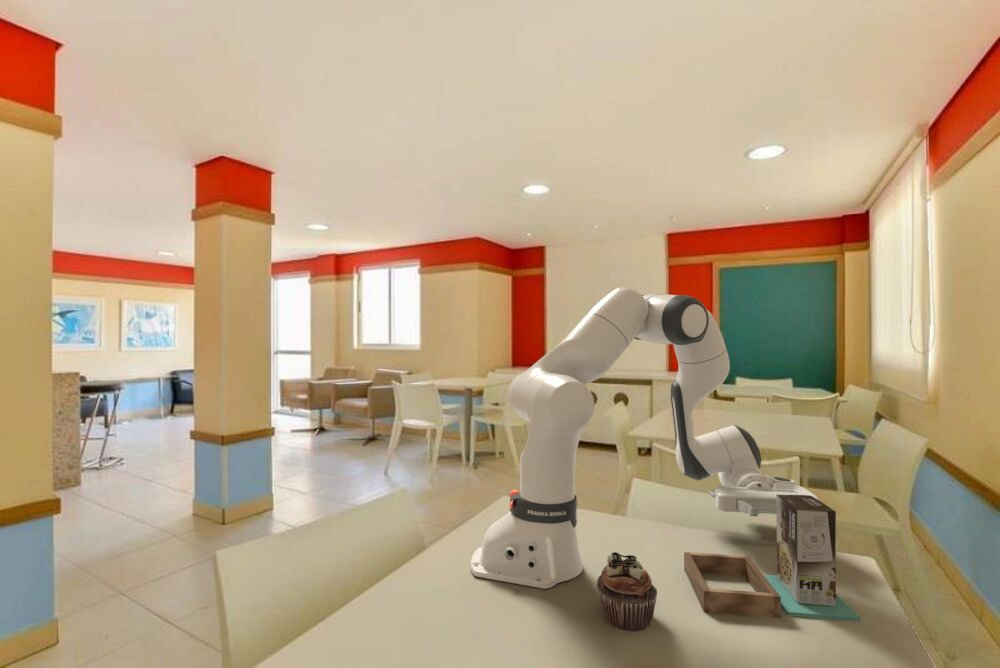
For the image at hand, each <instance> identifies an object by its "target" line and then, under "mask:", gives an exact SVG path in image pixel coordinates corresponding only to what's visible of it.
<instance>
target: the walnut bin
mask: <svg viewBox="0 0 1000 668" xmlns="http://www.w3.org/2000/svg"><path fill="white" fill-rule="evenodd" d="M683 570H684V572H685V574H686V577H687V579H688V581H689V584H690V585H691V587H692V590H693V592H694V594H695V596H696V598H697V600H698V602H699V604H700V607H701V608H702V610H703V612H705V613H712V614H713V613H715V614H726V615H727V614H728V615H740V616H749V617H751V616H752V617H762V618H763V617H764V618H775V619H782V617H781V615H782V613H781V611H782V607H781V597H780V595H779V594H778V593H777V592H776V590H775V589H774V588H773V587H772V585H771V584H770V583H769V582H768V580H767V579H766V578H765V576H764V575H765V574H764V573H762V572H761V570H760V568H759V567H758V566H757V565H756V563H754V561H753V560H752V559H751V558H750V556H749V555H732V554H721V553H720V554H719V553H718V554H717V553H703V552H701V553H700V552H688V551H685V552H683ZM702 574H705V575H720V576H733V577H734V576H735V577H744V578H745V579H746V580H747V581H748V583H749V585H750V586H751V587H752V589H753V590H754V591H748V590H735V589H734V590H733V589H723V588H720V589H719V588H709V586H708V584H707V582H706V581H705V579H704V577H703V575H702Z"/></svg>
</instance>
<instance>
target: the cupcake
mask: <svg viewBox="0 0 1000 668" xmlns="http://www.w3.org/2000/svg"><path fill="white" fill-rule="evenodd" d="M622 557H623V558H625V559H623V558H622ZM606 562H607V564H606V565H605V566H603V569H602V570H601V574H600V575H599V576H598V577H597V581H596V589H597V592H598V596H599V600H600V605H601V610H602V615H603V619H604V620H605V622H606V621H607V624H608V625H610V626H612V627H613V628H616V629H618V630H622V631H628V632H639V631H643V630H645V629H647V628H649V627H650V626H651V624H652V622H653V618H654V612H655V610H656V609H655V608H656V603H657V596H658V590H657V588H656V586H655V585H654V584H653V582H652V578H651V576H650V574H649V573H648V571H647V570H646V569H645V568H644V567H643V566H642V563H641V562H639V561H638V560H637V557H636V556H635V555H631V554H630V555H629V554H628V555H623V554H620V553H619V552H616V551H614V552H611V553H610V554H609V555H608V556H607V560H606Z"/></svg>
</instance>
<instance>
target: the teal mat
mask: <svg viewBox="0 0 1000 668" xmlns="http://www.w3.org/2000/svg"><path fill="white" fill-rule="evenodd" d="M763 575H764V576H765V578H766V579H767V580H768V582H769V583H770V584H771V585H772V587H773V588H774V589H775V590H776V592H777V593H778V594H779V595H780V597H781V609H782V610H783V611H784V612H785V614H786V615H787V616H788V617H790V616H791V617H800V618H801V617H802V618H814V619H826V620H827V619H828V620H838V621H839V620H840V621H852V622H862V617H860V615H858V613H857V612H855V611H854V609H853V608H852V607H850V606H849V604H847V602H845V601H844V600H843V599H842V597H840V596H839V595H838V593H836V606H824V605H814V604H803V603H797V602H796V600H795V599H794V598H793V597H792V596H791V594H790V593H789V592H788V591H787V590H786V588H785V587H784V586H783V585H782V584H781V583H780V581H779V580H778V579H777V574H775V575H774V574H773V575H772V574H763Z"/></svg>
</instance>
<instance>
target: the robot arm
mask: <svg viewBox="0 0 1000 668" xmlns="http://www.w3.org/2000/svg"><path fill="white" fill-rule="evenodd" d="M634 339H635V340H638V341H642V340H643V341H646V342H650V343H654V344H660V345H673V349H674V353H675V356H676V360H677V363H678V364H677V365H678V366H677V367H678V370H677V374H676V378H675V380H674V381H673V382H671V385H670V401H671V402H670V403H671V412H672V421H673V429H674V438H675V441H674V442H675V458H676V459H675V460H676V464H677V466H678V468H679V470H680V471H681V472H682V475H684V476H685V477H687V478H689V479H692V480H695V481H701V480H704V479H706V478H709V477H711V476H712V475H716V474H717V476H718V479H719V481H720V484H721V485H717V486H715V488H713V489H709V490H708V495H709V496H710V497H711V498H714V504H715V506H716V508H717V509H718V510H719V511H722V512H726V513H727V512H733V513H744V514H746V515H748V516H749V517H758V516H759V515H760V514H761V515H762V514H773V515H777V507H776V495H810V496H812V497H814V498H816V499H817V500H819V501H820V498H819V497H818V496H817V495H816V494H815V493H814V492H811V491H810V490H809V489H807V488H805V487H803V486H800V485H798V483H797V481H796V480H793V479H788V478H783V477H780V476H779V477H778V476H772V475H769V474H766V473H763V472H762V473H761V472H760V471H759V470H760V468H761V465H762V455H761V452H760V449H759V447H758V444H757V442H756V440H755V439H754V437H753V436H752V435H751V433H749V432H748V431H747V430H745V429H744V428H742V427H740V426H738V425H735V424H733V425H729V426H727V427H726V426H725V427H722V428H720V429H716V430H713V431H711V432H707V433H704V434H701V435H697V436H695V429H694V420H693V412H694V411H695V408H696V406H697V405H698V404H699V403H700V402H701V401H703V400H704V399H705V398H706V397H707V396H708V395H710V394H711V393H712V392H714V391H716V390H717V389H718V388H719V387H720V386H721V385H722V384H724V382H725V381H726V379H727V377H728V376H729V373H730V369H731V365H730V364H731V362H730V358H729V357H730V356H729V353H728V350H727V346H726V343H725V340H724V336H723V333H722V332H721V330H720V327H719V325H718V324H717V321H716V319H715V318H714V315H713V314H712V313H711V312H710V311H709V310H708V309H707V308H706V307H705V305H704V303H703V302H701V301H700V299H697V298H695V297H694V296H691V295H685V294H678V295H675V294H665V293H652V294H641V293H639V291H637V290H635V289H633V288H630V287H626V286H621V287H617V288H614V289H613V290H612V291H610V292H609V293H608V294H607V295H605V296H604V297H603V298H601V300H599V301H598V302H597V303H596V304H595V305H594V306H592V308H591V309H590V310H589V311H588V312H587V313H586V314H585V315H584V316H583V317H582V319H581V320H580V321H579V322H578V323H577V324H576V326H575V327H574V328H573V329H572V330H571V331H570V332H569V333H568V334H567V335H566V336H565V337H564V338H563V340H562V341H560V342H559V343H557V345H556V346H555V347H554V348H552V349H551V350H550V351H548V353H546V354H545V355H543V356H542V357H541V358H540V359H538V360H537V361H536V362H535V363H533V365H531V366H530V367H529V368H528V369H527V370H525V371H523V372H522V373H520V374H519V375H516V377H514V378H513V379H512V380H511V382H510V385H509V386H508V389H507V399H508V400H507V401H508V402H509V404H510V407H511V408H512V410H513V411H514V412H515V413H516V414H517V416H519V417H520V418H521V419H523V420H525V421H528V422H529V429H528V430H529V431H528V436H527V440H526V445H525V447H524V449H523V450H522V452H521V454H520V457H519V490H518V489H512V490H511V491H510V494H509V512H507V513H505V514H504V515H503V516H502V517H501V518H499V519H498V520H496V521H495V522H493V523H492V524H491V525H490V526H489V528H488V529H487V530H486V532H485V535H484V537H483V541H482V545H479V547H478V548H476V549H475V551H474V552H473V554H472V556H471V558H470V559H471V560H470V571H471V573H472V575H474V576H475V577H478V578H482V579H488V580H494V581H500V582H505V583H511V584H517V585H520V586H521V585H522V586H526V587H527V586H528V587H533V588H538V589H543V590H544V589H550V588H553V587H554V586H555V585H557V584H559V583H563V582H565V581H569V580H572V579H574V578H577V577H578V576H579V575H581V573H583V570H584V565H583V562H582V558H581V555H580V550H579V545H578V538H577V537H578V534H577V525H578V524H577V523H578V502H577V501H578V498H577V495H576V493H575V492H576V491H575V488H576V487H575V486H576V483H575V482H576V480H575V478H576V476H575V475H576V472H575V471H576V458H577V457H576V456H577V450H578V446H579V442H580V438H581V435H582V432H583V430H584V428H586V426H588V425H589V423H590V422H591V420H592V419H593V416H594V413H595V399H594V395H593V394H592V392H591V390H590V389H589V387H588V386H587V385H589V384H591V383H592V382H594V381H596V380H598V379H600V378H602V377H603V376H605V374H606V373H607V372H608V371H609V370H610V369H611V367H612V366H614V364H615V362H617V360H618V359H619V358H620V357H621V356H622V355H623V353H624V352H625V351H626V350H627V349H628V347H629V346H630V345H631V343H632V342H633V341H634ZM820 502H821V501H820Z"/></svg>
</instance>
